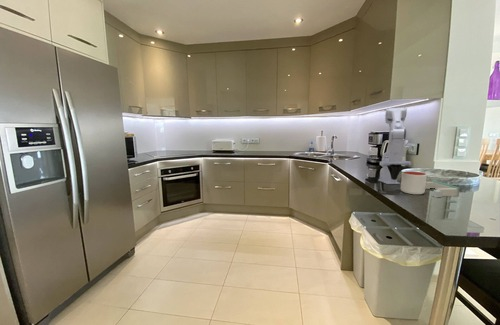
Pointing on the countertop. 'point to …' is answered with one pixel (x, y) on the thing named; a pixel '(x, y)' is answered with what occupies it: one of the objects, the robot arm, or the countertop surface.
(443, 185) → the end holder
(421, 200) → the countertop surface
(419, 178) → the cup
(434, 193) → the clip post
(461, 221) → the countertop surface
